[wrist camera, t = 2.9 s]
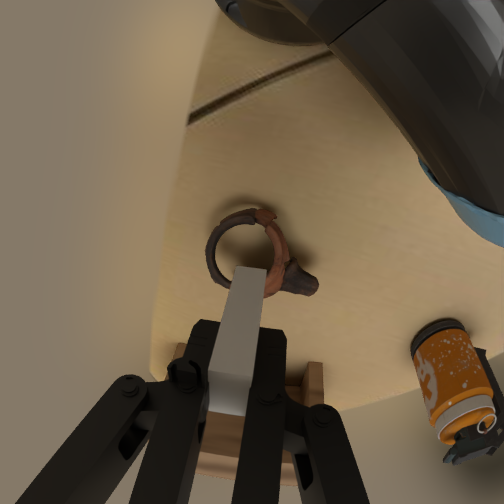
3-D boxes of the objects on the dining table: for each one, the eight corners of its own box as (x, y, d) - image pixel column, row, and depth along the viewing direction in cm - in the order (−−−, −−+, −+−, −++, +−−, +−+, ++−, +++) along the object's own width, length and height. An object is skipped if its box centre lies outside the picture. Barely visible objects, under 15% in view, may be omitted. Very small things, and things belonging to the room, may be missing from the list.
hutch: (178, 342, 45) (144, 435, 32) (322, 362, 44) (325, 462, 31) (182, 382, 50) (157, 464, 37) (307, 400, 49) (305, 486, 36)
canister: (413, 322, 39) (454, 453, 22) (480, 310, 37) (536, 422, 20) (405, 364, 43) (431, 481, 26) (467, 352, 41) (505, 457, 24)
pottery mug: (211, 278, 39) (185, 285, 31) (236, 202, 38) (215, 191, 30) (306, 313, 37) (304, 331, 29) (334, 235, 36) (339, 231, 28)
